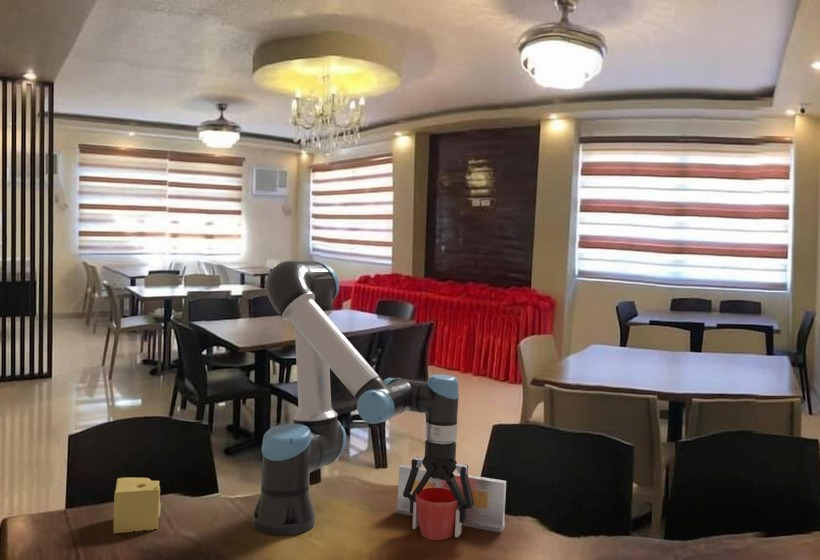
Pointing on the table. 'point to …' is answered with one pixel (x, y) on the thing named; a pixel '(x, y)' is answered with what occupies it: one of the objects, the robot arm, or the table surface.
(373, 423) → the robot arm
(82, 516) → the table surface
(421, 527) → the flower pot
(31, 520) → the table surface
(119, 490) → the cheese
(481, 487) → the label panel
